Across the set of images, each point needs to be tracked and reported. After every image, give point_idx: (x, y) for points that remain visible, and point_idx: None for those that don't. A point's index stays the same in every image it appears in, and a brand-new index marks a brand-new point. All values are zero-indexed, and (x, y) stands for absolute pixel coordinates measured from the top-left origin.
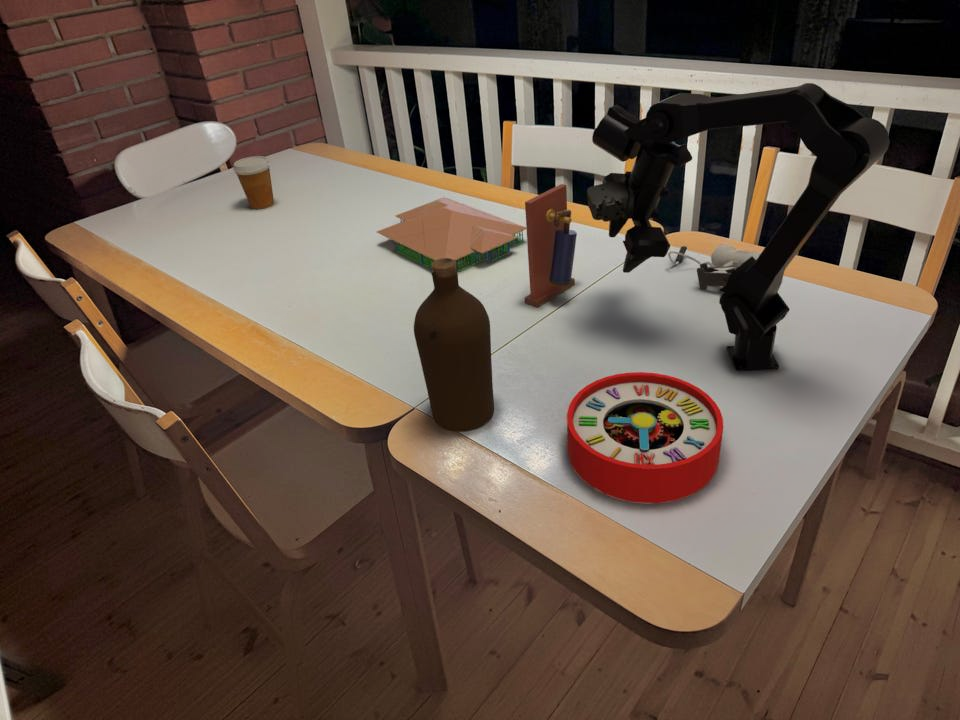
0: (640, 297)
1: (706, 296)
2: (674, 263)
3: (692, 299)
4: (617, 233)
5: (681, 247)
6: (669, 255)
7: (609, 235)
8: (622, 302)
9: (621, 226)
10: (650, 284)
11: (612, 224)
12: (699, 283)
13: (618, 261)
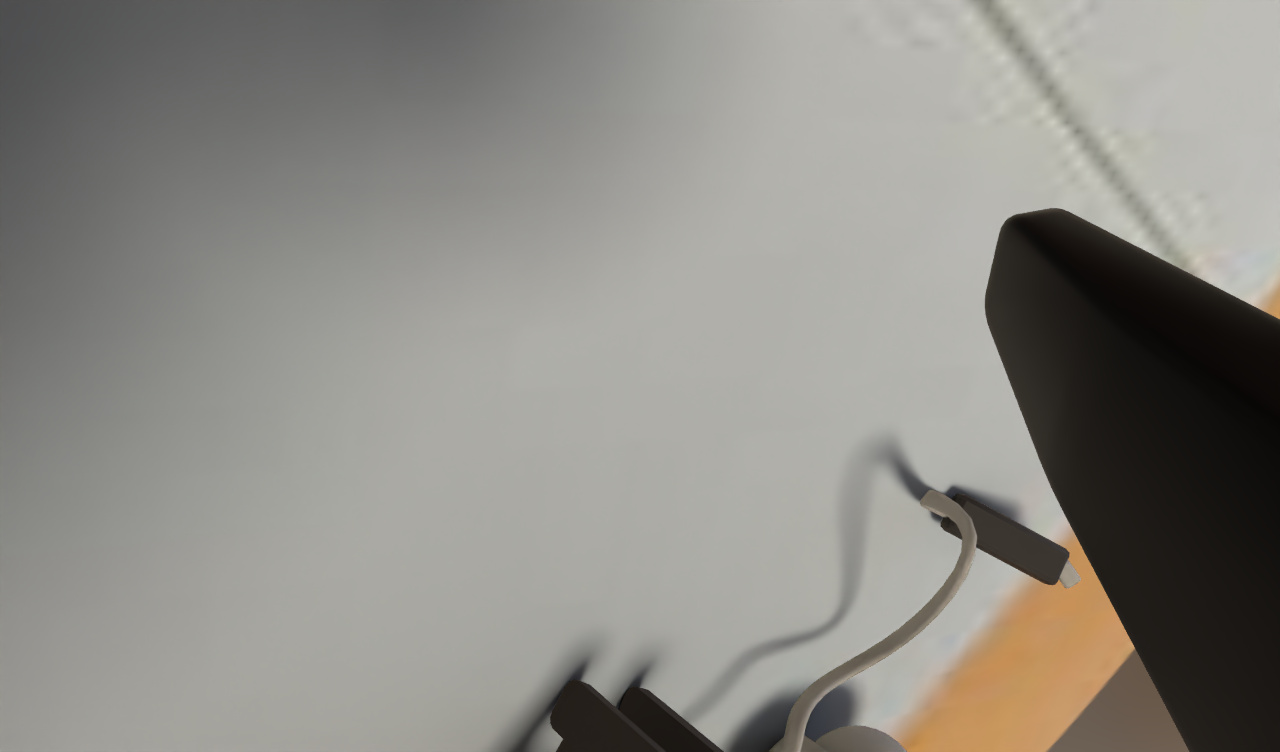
0: (497, 263)
1: (461, 726)
2: (921, 501)
3: (423, 651)
4: (1025, 406)
5: (1060, 553)
6: (957, 522)
7: (1029, 231)
8: (414, 87)
9: (1119, 581)
10: (705, 340)
11: (1230, 449)
12: (594, 700)
13: (1108, 83)
